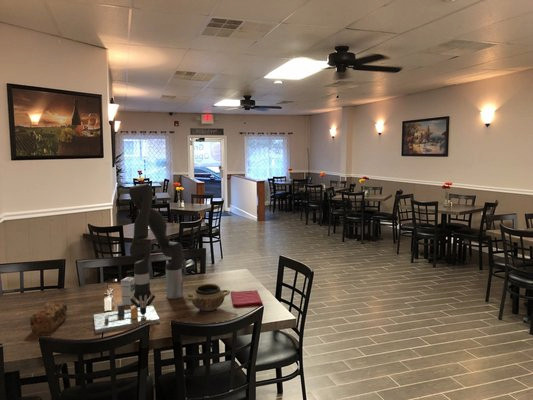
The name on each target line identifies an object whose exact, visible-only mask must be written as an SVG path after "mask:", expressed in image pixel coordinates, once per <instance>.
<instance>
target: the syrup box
mask: <svg viewBox="0 0 533 400" xmlns="http://www.w3.org/2000/svg"><path fill="white" fill-rule="evenodd" d="M120 290H121V302H123V303H124V306H133V305H134V304H133V303H132V302H131V301H130V298H132V297H133V296H134V293H135V288H134V277H130V276H128V277H127V276H126V277H125V278H123V279H121V280H120ZM135 301H136V302H137V299H136V298H135Z"/></svg>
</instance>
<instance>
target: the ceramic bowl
mask: <svg viewBox="0 0 533 400" xmlns="http://www.w3.org/2000/svg"><path fill="white" fill-rule="evenodd" d="M229 294H231V290H228V289H221V288H220V286H219V285H217V284H214V283H205V284H204V283H203V284H200V285H197V286H196V287H195V290H194V291H193V292H192V293H189V294H186V295H185V297H184V299H185V300H186V301H189V302H190V301H191V302H192V305H194V306H195V308H196V309H198V311H199V312H200V313H201V314H213V313H215V312H217V310H218V308H219V307H221V306H222V304H224V301H225V297H226V296H229Z"/></svg>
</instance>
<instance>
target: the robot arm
mask: <svg viewBox="0 0 533 400" xmlns="http://www.w3.org/2000/svg"><path fill="white" fill-rule="evenodd" d="M128 193H129V197H130V199H131V201H132V203H133V204H134V206H135V207H136V208H137V210H138V211H139V213H138V215H137V216H136V217H135V221H134V224H133V238H132V241H131V244H130V247H129V255H130V256H131V258H143V257H144V258H143V259H141V260H138V261H137V260H136V261H135V262H134V264H133V269H134V271H133V272H134V276H133V278H134V288H135V293H134V296H133V297H132V298H130V301H131V302H132V303H133V304H132V305H134V306H136V307H137V308H140V313H141V314H142V315H145V313H146V307H147V306H151V304H152V302H153V301H154V300H155V299H156V295H155V294H153V293H152V292H151V282H150V281H151V278H150V271H149V265H150V257H151V254H152V245H151V244H150V243H149V242H140V241H144V240H146V239H148V237H149V229H150V231H151V233H152V234H153V236H154V238H155V240H156V241H157V243H158V246H159V248H160V250H161V253H162V255H164V256H165V257H167V258H171V260H170V262H168V263H166V264H165V288H166V298H167V299H169V300H175V299H179V298H184V281H183V279H182V278H183V277H182V276H183V275H182V273H183V272H182V269H183V267H182V265H183V263H184V261H183V258H184V257H183V254H184V251H183V250H184V249H183V245H182V244H181V243H180V242H179V241H178V242H177V241H172V240H170V239H169V236H168V235H167V228H168V225H167V222H166V220H165V219H164V216H163V215H162V214H161V212H159V211H158V210H156V209H154V208H153V207H152V203H153V198H154V196H153V195H154V192H153V188H152V185H150V183H143V184H141V183H140V184H138V185H137V184H136V185H133V186H131V187H129V190H128ZM135 298H136V301H135ZM137 301H138V302H137Z"/></svg>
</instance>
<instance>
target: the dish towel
mask: <svg viewBox="0 0 533 400" xmlns="http://www.w3.org/2000/svg"><path fill="white" fill-rule="evenodd" d="M230 301H231V305H232V307H233V308H243V307H244V308H246V307H248V308H249V307H263V305H264V304H263V301H262V299H261V296H260V294H259V292H258V290H244V291H243V290H242V291H241V290H240V291H235V290H230Z"/></svg>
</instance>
